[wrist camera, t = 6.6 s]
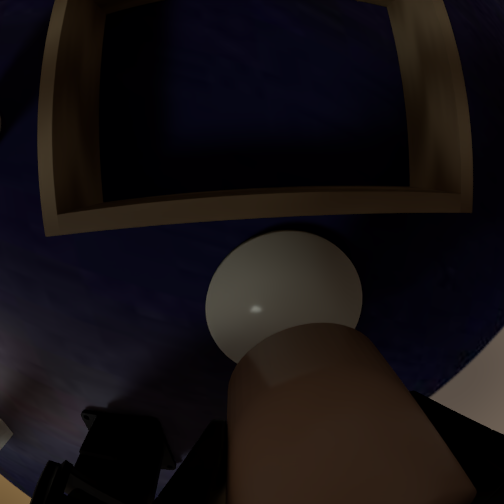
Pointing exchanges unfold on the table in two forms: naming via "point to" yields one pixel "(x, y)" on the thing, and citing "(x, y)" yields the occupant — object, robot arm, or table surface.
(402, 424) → the clay pot
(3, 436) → the heart sculpture
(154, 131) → the table surface
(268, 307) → the cream round disc
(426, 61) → the open wooden box frame
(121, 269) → the table surface
